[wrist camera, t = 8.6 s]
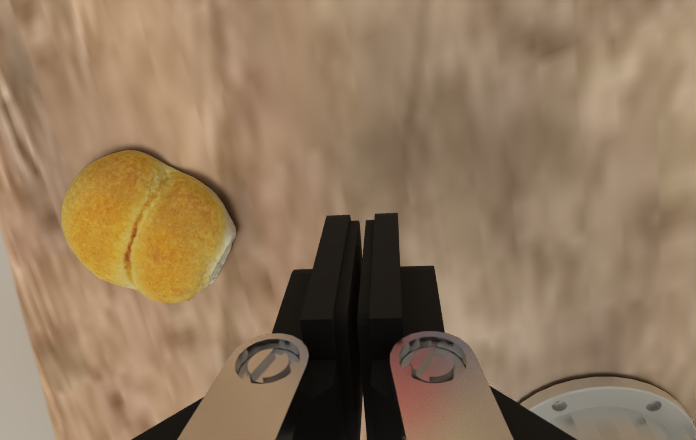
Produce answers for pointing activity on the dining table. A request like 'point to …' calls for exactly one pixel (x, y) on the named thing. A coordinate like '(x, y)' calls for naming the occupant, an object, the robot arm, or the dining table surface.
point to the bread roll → (147, 226)
